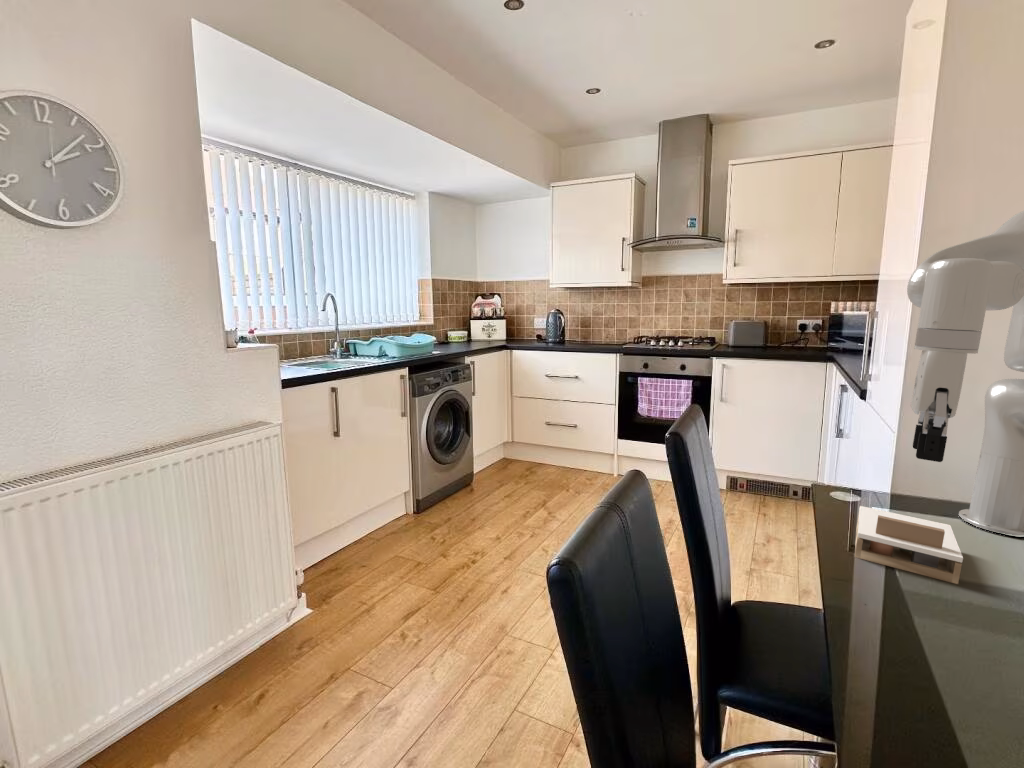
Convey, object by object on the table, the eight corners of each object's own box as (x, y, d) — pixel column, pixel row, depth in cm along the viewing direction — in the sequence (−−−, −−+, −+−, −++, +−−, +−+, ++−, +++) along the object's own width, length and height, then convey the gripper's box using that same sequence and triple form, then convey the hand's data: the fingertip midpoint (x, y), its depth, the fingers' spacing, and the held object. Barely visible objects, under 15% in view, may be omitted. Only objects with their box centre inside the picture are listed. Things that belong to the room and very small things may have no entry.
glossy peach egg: (874, 547, 94) (876, 531, 93) (895, 555, 91) (898, 539, 91) (865, 551, 92) (868, 535, 92) (886, 560, 89) (889, 543, 89)
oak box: (856, 529, 103) (859, 510, 103) (945, 550, 95) (949, 530, 95) (854, 559, 90) (857, 538, 90) (957, 587, 82) (961, 564, 82)
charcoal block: (911, 560, 90) (913, 543, 89) (934, 566, 88) (937, 548, 87) (912, 567, 87) (915, 550, 87) (936, 573, 85) (939, 556, 85)
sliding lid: (859, 509, 102) (862, 491, 102) (949, 529, 95) (953, 509, 94) (857, 537, 89) (860, 516, 89) (962, 562, 82) (966, 540, 81)
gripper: (911, 338, 87) (895, 439, 90) (920, 342, 73) (899, 462, 76) (969, 341, 83) (950, 448, 85) (990, 346, 68) (966, 473, 71)
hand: (926, 453), depth 80 cm, fingers open, 6 cm apart
